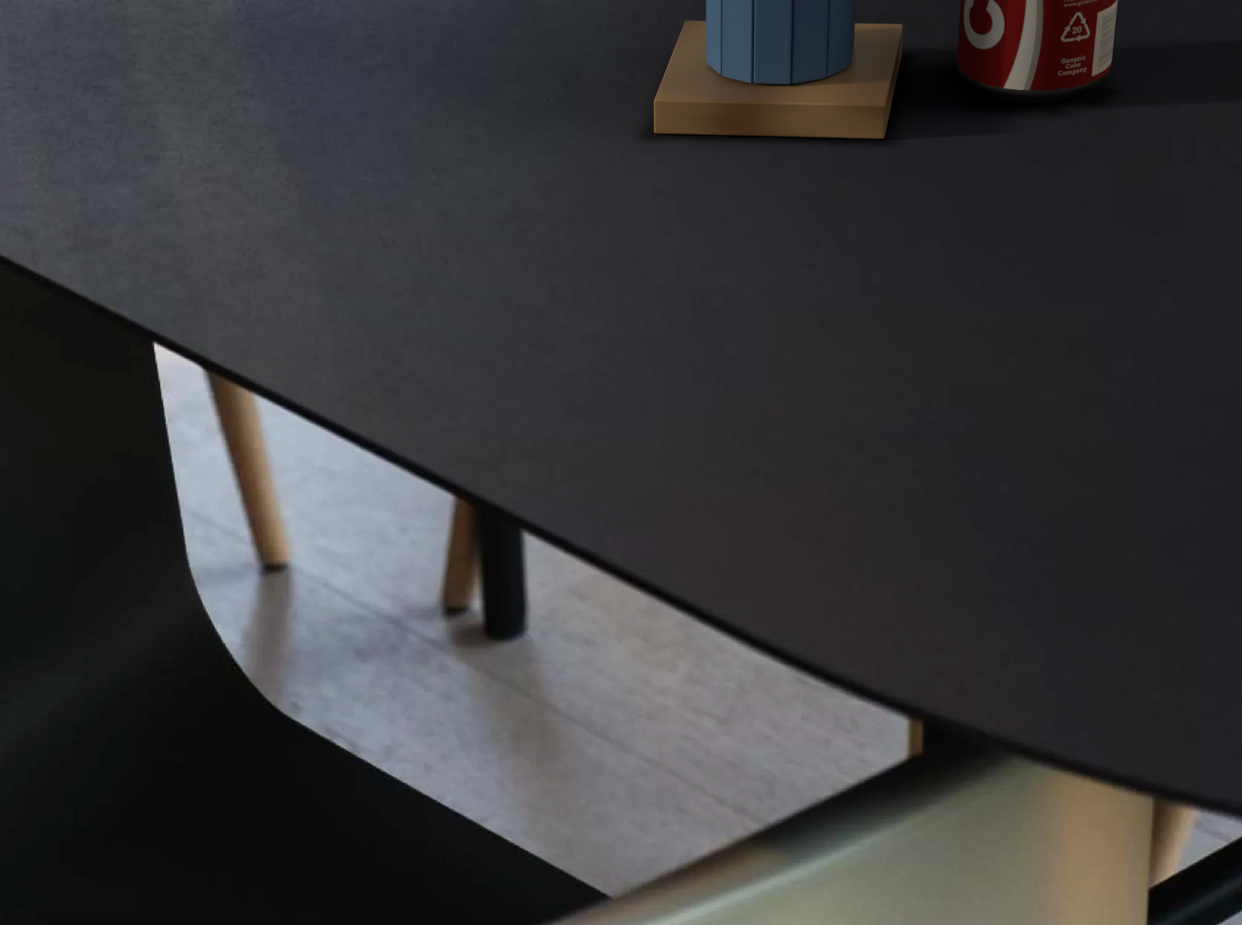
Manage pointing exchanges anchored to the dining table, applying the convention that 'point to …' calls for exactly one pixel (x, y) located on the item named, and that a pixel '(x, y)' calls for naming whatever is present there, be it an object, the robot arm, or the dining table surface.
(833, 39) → the sleeve
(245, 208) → the dining table surface
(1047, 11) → the soda can
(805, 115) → the wooden base plate
